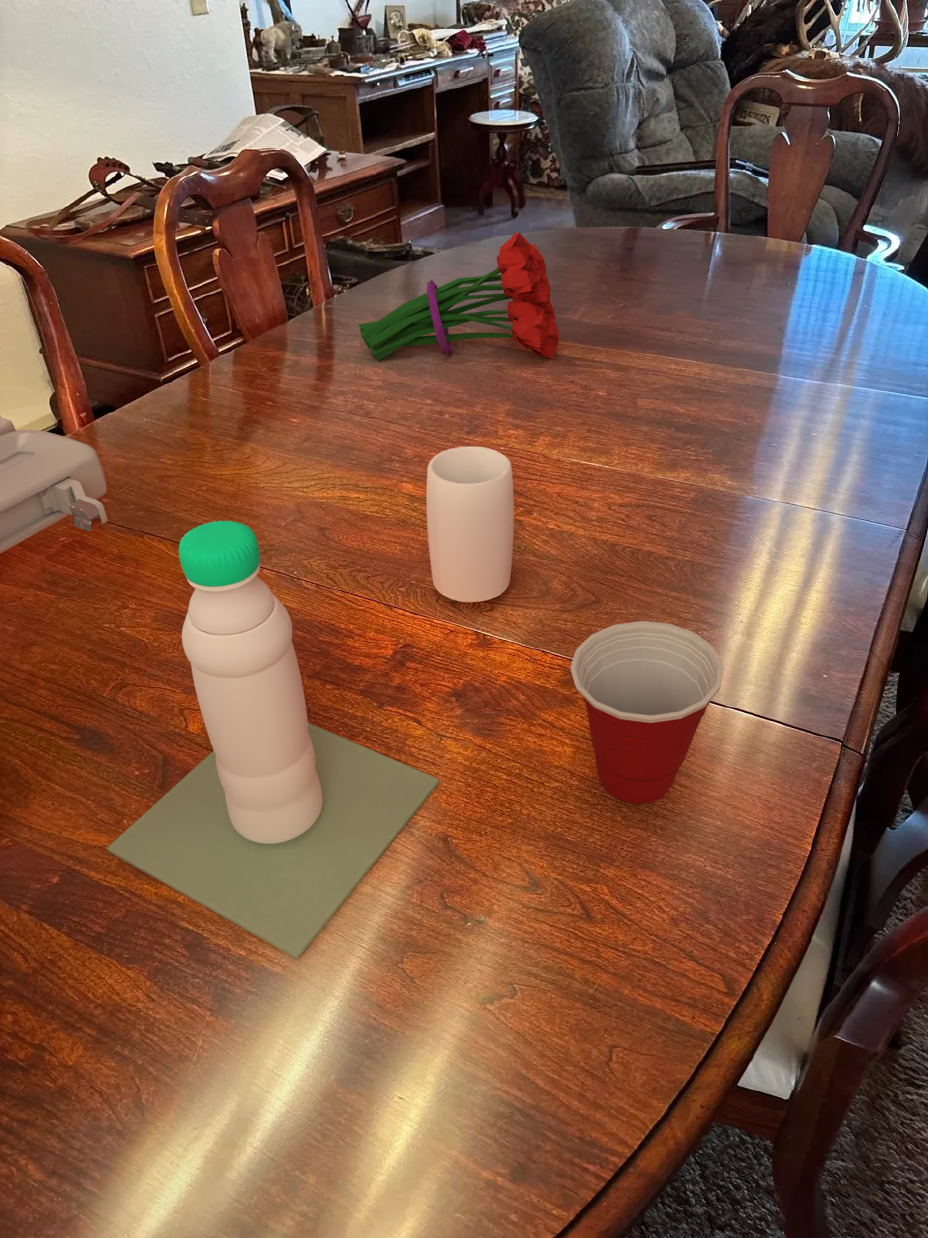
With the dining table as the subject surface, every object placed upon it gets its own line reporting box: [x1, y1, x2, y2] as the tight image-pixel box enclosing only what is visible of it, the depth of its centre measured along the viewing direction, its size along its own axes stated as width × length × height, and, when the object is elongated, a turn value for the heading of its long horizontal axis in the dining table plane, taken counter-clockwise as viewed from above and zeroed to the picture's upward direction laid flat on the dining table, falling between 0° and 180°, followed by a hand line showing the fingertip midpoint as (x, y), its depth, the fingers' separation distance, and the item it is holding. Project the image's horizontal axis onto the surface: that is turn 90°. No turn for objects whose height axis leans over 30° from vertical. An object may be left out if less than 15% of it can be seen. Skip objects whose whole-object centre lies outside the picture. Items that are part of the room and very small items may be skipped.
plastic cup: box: [569, 620, 724, 805], centre depth 70 cm, size 11×11×12 cm
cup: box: [425, 445, 515, 603], centre depth 90 cm, size 8×8×14 cm
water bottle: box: [178, 520, 323, 844], centre depth 63 cm, size 7×7×25 cm
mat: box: [106, 722, 441, 960], centre depth 71 cm, size 18×18×1 cm
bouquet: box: [358, 230, 560, 362], centre depth 139 cm, size 20×16×30 cm
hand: (42, 550), depth 61 cm, fingers open, 8 cm apart
